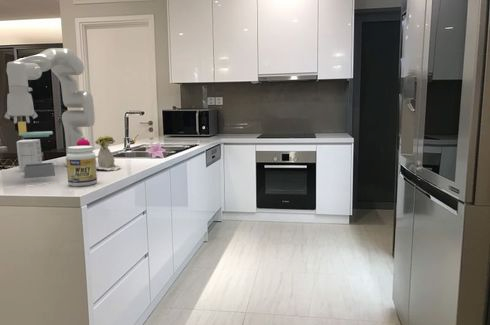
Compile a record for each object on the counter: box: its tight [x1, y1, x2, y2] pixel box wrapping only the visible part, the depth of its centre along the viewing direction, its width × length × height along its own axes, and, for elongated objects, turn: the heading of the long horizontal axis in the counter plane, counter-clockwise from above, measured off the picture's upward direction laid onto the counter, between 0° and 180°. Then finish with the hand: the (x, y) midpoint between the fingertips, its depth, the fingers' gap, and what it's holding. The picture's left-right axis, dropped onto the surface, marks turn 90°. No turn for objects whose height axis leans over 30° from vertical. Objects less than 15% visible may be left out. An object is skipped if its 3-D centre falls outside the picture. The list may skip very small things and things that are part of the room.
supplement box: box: [16, 138, 43, 173], centre depth 211 cm, size 10×9×17 cm
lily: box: [145, 141, 166, 159], centre depth 260 cm, size 12×12×10 cm
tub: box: [23, 162, 56, 179], centre depth 198 cm, size 13×9×6 cm
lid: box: [17, 121, 54, 138], centre depth 181 cm, size 13×9×7 cm
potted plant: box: [94, 135, 121, 172], centre depth 216 cm, size 12×13×18 cm
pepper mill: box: [77, 135, 91, 146], centre depth 197 cm, size 7×7×20 cm
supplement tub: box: [65, 145, 98, 187], centre depth 179 cm, size 12×12×17 cm
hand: (22, 131), depth 179 cm, fingers closed on lid, 3 cm apart
